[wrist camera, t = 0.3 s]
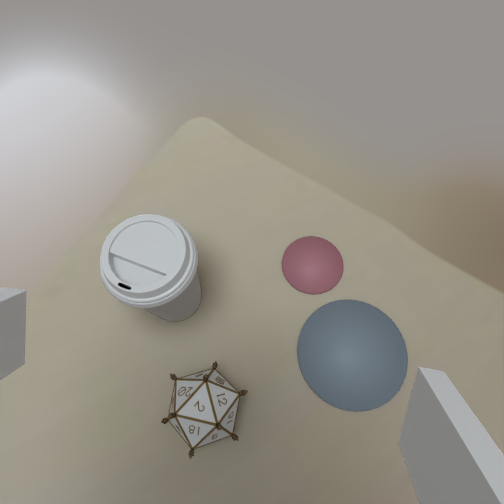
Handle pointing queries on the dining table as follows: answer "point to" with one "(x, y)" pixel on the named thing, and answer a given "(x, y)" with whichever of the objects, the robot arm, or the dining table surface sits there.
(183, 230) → the coffee cup
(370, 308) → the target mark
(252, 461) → the dining table surface
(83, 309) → the dining table surface
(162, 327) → the dining table surface
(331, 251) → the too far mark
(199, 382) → the game die
